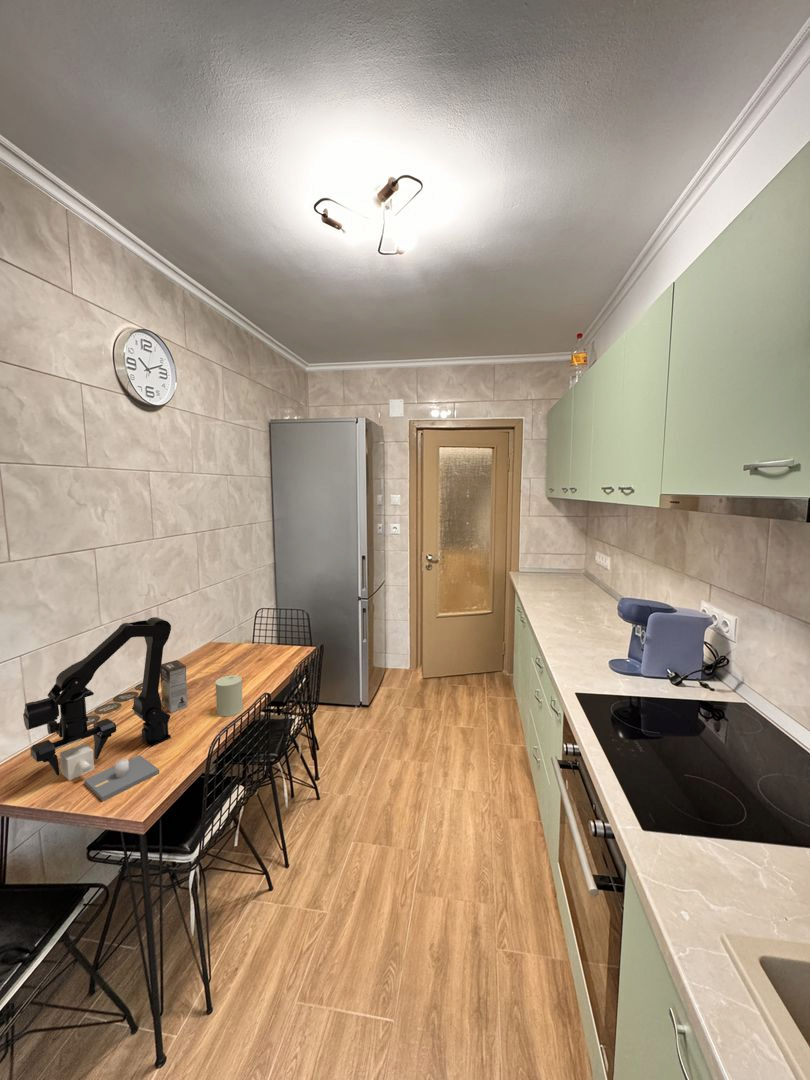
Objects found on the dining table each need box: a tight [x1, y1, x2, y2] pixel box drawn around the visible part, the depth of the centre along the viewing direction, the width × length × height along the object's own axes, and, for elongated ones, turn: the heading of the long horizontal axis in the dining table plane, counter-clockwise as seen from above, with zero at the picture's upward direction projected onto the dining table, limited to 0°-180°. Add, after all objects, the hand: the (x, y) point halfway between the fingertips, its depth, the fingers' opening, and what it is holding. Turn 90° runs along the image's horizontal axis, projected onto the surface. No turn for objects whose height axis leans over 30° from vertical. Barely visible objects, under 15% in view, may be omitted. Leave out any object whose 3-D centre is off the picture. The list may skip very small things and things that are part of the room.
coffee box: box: [160, 659, 188, 713], centre depth 161 cm, size 9×6×16 cm
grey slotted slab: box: [83, 754, 160, 802], centre depth 120 cm, size 14×12×5 cm
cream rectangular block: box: [59, 742, 95, 781], centre depth 122 cm, size 6×10×6 cm, turn 55°
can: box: [214, 674, 244, 717], centre depth 158 cm, size 9×9×12 cm
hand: (77, 766), depth 123 cm, fingers open, 9 cm apart
